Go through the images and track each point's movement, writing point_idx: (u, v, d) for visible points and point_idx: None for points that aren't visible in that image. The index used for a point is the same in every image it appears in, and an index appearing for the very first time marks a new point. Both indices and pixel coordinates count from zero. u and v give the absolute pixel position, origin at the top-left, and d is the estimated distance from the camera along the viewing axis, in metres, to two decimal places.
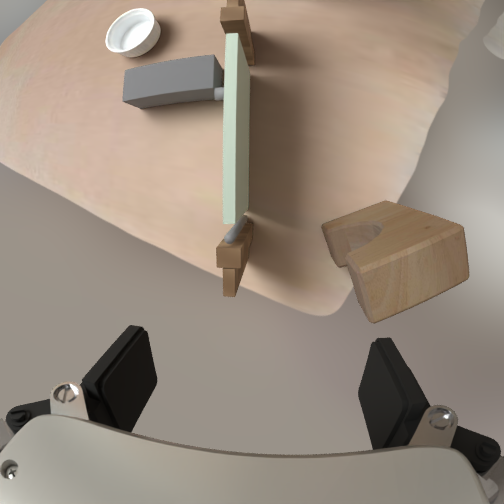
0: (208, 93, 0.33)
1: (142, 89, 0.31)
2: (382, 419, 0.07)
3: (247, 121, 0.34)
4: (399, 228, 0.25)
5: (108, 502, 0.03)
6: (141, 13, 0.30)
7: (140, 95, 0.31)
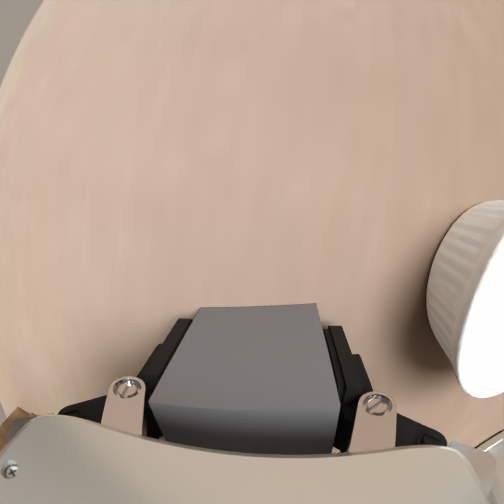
0: None
1: None
2: None
3: None
4: None
5: (108, 502, 0.03)
6: None
7: None
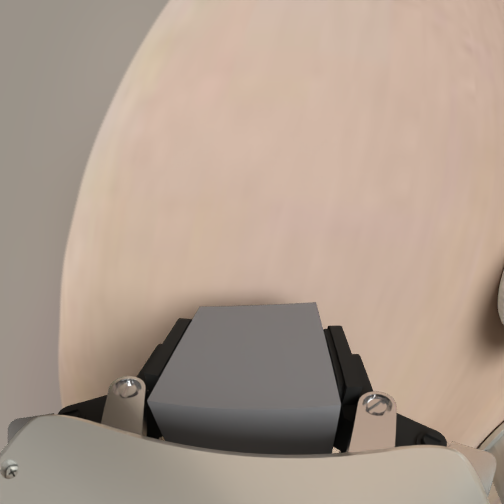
0: None
1: None
2: None
3: None
4: None
5: (108, 502, 0.03)
6: None
7: None
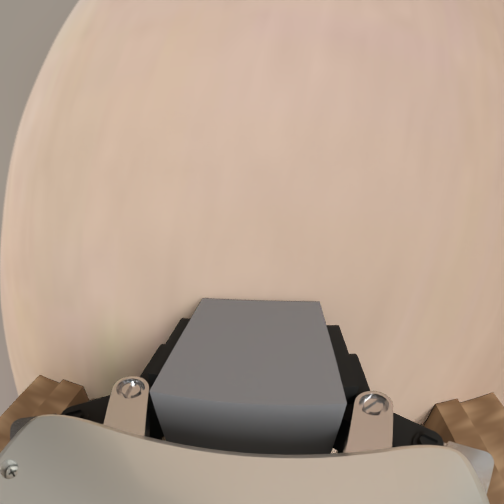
0: None
1: None
2: None
3: None
4: None
5: (108, 502, 0.03)
6: None
7: None
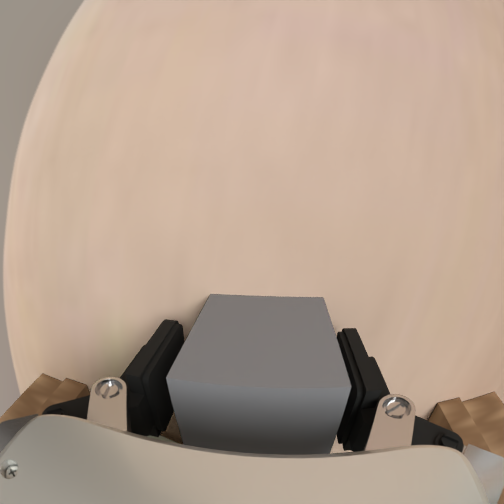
0: None
1: (218, 446, 0.08)
2: None
3: None
4: None
5: (108, 502, 0.03)
6: None
7: (192, 440, 0.08)
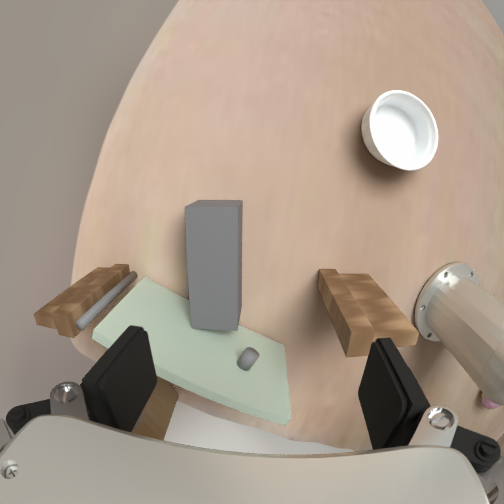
0: None
1: (198, 239, 0.27)
2: (382, 419, 0.07)
3: None
4: None
5: (108, 502, 0.03)
6: (428, 147, 0.25)
7: (189, 237, 0.27)
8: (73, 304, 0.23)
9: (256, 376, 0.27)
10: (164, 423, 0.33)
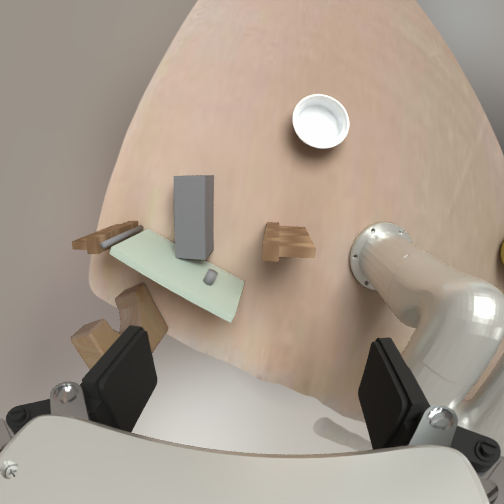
0: None
1: (181, 196, 0.42)
2: (382, 419, 0.07)
3: None
4: None
5: (108, 502, 0.03)
6: (342, 131, 0.40)
7: (176, 195, 0.42)
8: (99, 234, 0.38)
9: (215, 289, 0.42)
10: (153, 342, 0.48)
